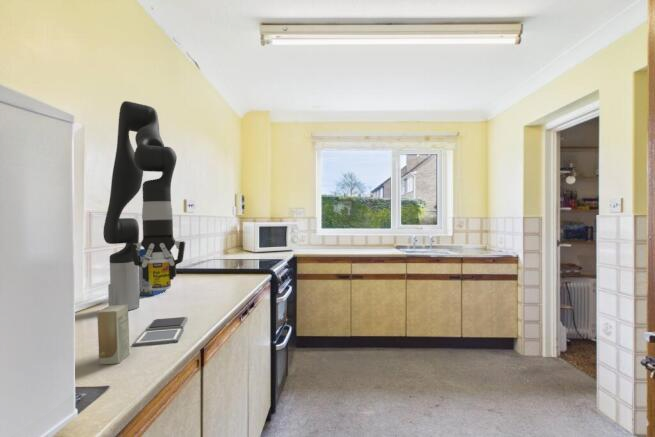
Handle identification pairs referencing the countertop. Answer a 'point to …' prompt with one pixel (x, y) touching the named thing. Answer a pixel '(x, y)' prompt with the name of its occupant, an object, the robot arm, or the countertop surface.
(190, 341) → the countertop surface
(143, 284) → the milk carton
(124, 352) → the skincare box
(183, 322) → the ink pad
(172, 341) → the grey square pad
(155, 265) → the supplement bottle
